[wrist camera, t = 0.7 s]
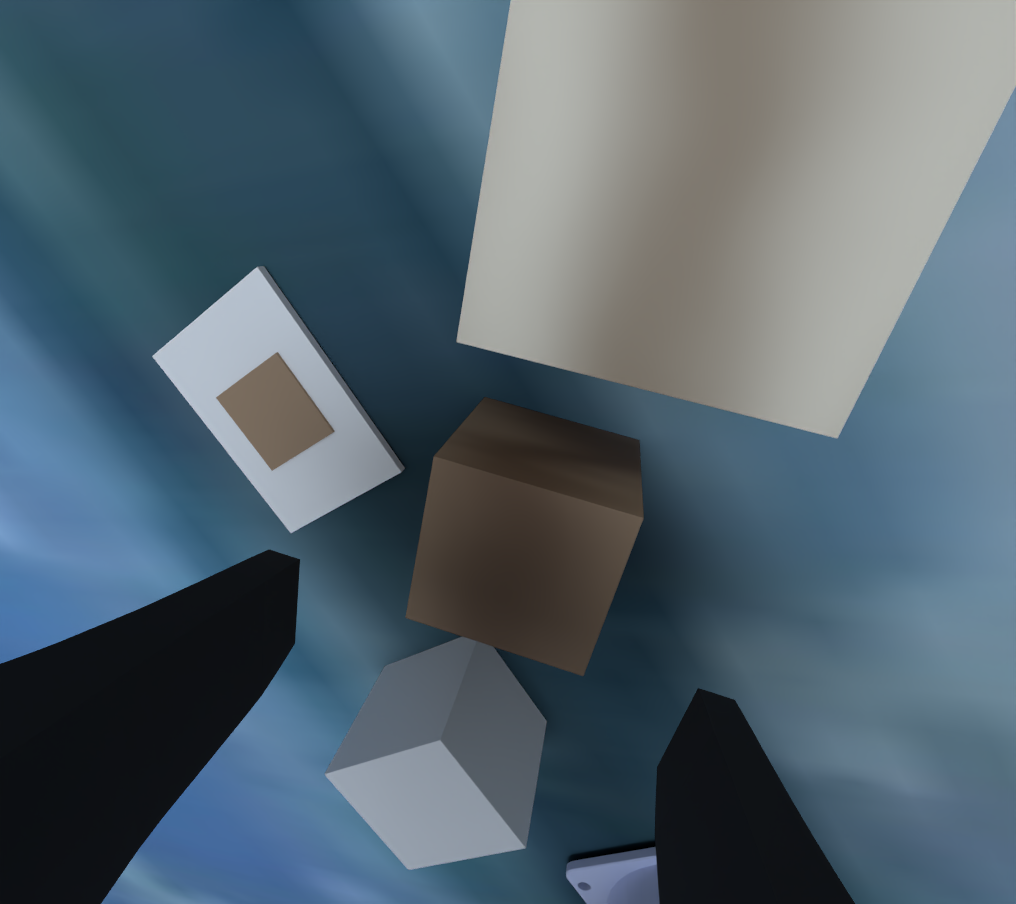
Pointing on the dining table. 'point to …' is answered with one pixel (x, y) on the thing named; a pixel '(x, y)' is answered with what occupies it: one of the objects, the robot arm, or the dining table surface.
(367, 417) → the card
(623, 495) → the walnut block
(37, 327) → the dining table surface
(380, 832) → the grey block
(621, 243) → the birch base block
